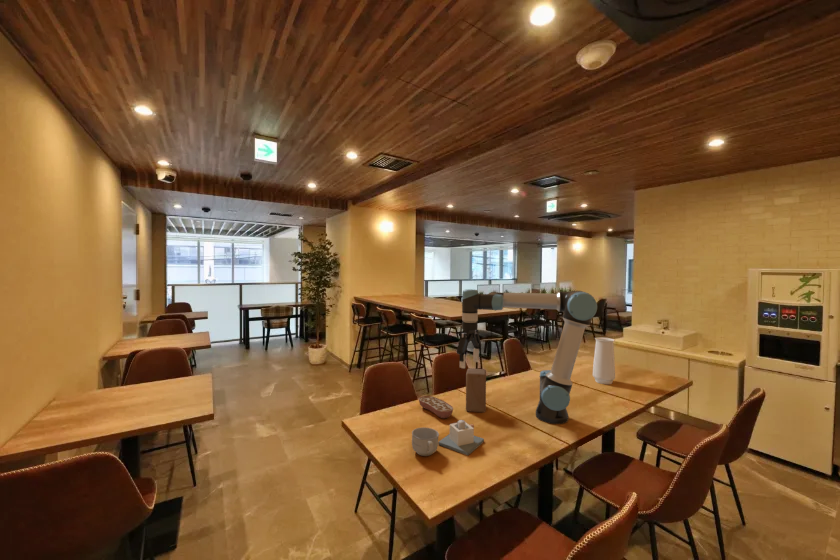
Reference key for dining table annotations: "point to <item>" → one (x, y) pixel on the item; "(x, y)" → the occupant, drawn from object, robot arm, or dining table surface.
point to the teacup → (424, 441)
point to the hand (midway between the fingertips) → (469, 364)
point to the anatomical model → (436, 406)
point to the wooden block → (476, 390)
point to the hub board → (463, 448)
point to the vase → (604, 361)
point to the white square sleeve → (462, 434)
